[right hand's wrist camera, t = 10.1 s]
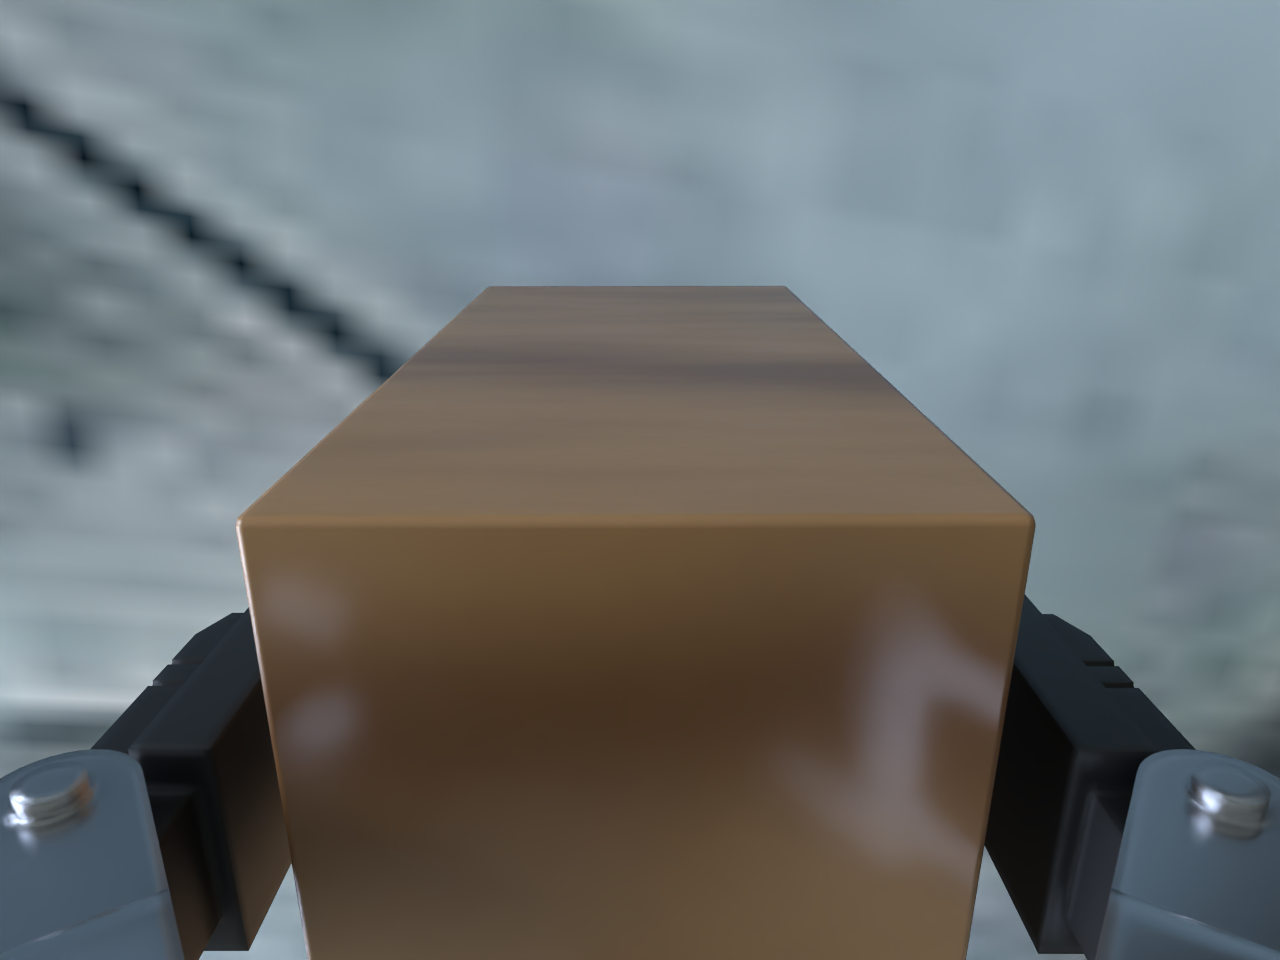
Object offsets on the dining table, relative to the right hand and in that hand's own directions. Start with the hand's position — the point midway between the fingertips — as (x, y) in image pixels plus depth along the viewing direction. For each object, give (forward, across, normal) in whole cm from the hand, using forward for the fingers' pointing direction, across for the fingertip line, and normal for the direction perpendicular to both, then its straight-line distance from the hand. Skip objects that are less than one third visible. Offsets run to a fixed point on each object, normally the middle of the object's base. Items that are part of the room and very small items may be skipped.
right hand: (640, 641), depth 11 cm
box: (+8, 0, +11) cm, 13 cm away
